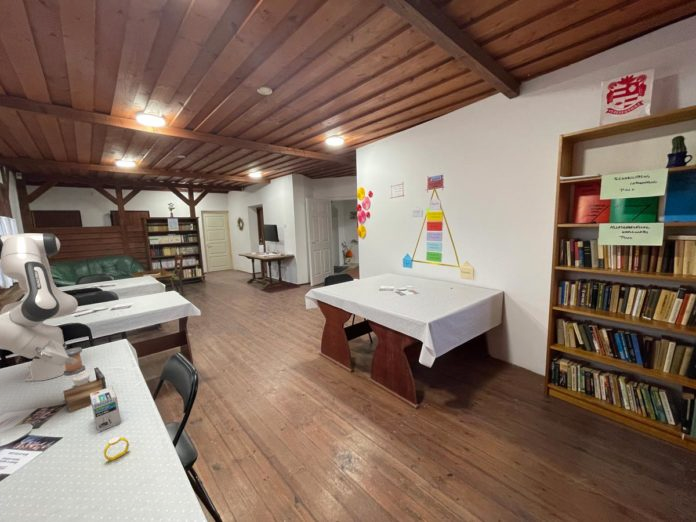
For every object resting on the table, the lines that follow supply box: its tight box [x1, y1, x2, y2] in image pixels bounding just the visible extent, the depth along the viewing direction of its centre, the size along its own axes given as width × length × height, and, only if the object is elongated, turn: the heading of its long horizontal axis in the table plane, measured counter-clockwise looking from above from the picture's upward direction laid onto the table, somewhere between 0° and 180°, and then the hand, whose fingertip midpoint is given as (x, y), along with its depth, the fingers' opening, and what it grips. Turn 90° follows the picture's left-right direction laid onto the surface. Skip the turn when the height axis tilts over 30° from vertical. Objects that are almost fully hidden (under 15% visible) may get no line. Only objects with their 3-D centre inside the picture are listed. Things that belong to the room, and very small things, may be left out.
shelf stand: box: [62, 366, 107, 413], centre depth 120 cm, size 14×12×10 cm
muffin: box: [71, 369, 91, 387], centre depth 132 cm, size 6×6×7 cm
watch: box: [103, 436, 130, 461], centre depth 89 cm, size 6×3×6 cm, turn 138°
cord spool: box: [63, 346, 86, 377], centre depth 117 cm, size 6×6×9 cm
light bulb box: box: [90, 385, 122, 433], centre depth 105 cm, size 11×7×11 cm, turn 47°
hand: (75, 359), depth 117 cm, fingers closed on cord spool, 5 cm apart
